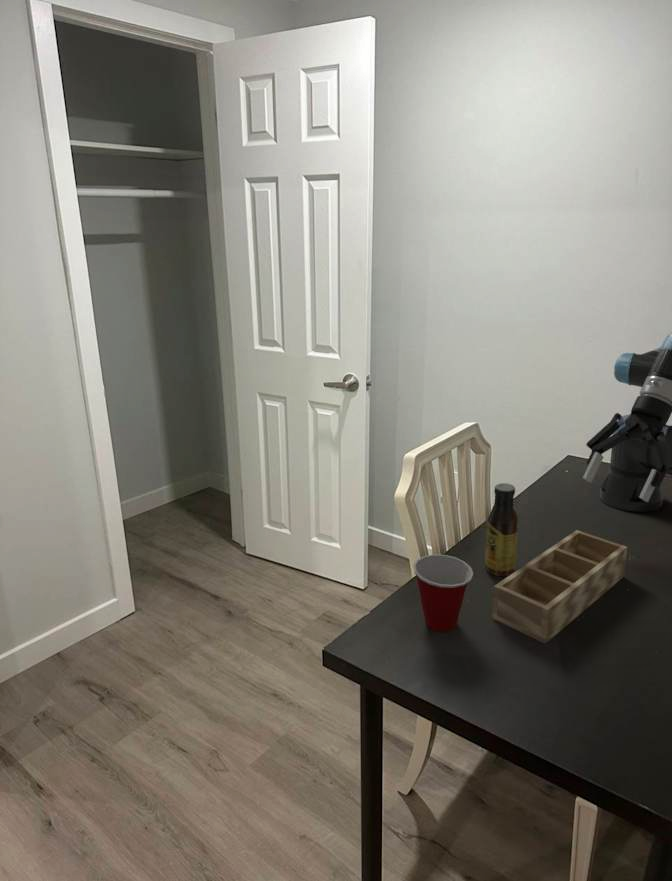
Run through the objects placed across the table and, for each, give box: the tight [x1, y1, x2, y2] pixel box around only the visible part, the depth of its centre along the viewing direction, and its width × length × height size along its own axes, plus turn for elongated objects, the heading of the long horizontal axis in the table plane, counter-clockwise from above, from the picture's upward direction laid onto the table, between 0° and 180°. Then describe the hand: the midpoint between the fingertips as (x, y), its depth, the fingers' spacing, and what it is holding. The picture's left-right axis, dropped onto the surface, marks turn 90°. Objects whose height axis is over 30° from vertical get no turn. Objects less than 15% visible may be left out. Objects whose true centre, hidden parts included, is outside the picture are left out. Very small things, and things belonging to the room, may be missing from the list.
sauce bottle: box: [484, 482, 519, 577], centre depth 132 cm, size 6×6×20 cm
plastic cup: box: [413, 554, 474, 633], centre depth 116 cm, size 11×11×12 cm
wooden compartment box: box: [491, 529, 628, 645], centre depth 124 cm, size 31×11×7 cm, turn 132°
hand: (613, 489), depth 135 cm, fingers open, 13 cm apart
